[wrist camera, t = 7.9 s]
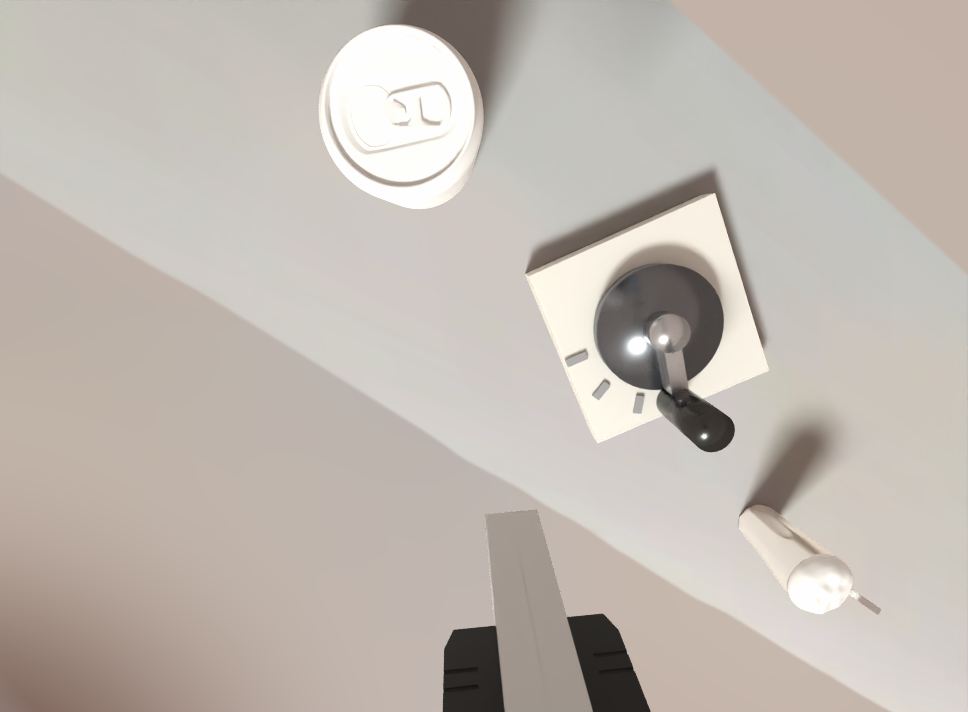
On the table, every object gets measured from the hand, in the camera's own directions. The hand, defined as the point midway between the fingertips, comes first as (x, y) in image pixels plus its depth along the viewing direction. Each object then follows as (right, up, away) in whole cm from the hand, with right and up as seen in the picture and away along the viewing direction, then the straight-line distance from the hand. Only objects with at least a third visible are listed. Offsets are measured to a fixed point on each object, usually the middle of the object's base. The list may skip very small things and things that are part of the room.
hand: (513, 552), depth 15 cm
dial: (+12, +7, +22) cm, 26 cm away
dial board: (+11, +8, +24) cm, 28 cm away
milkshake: (+23, -9, +29) cm, 38 cm away
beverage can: (-5, +20, +21) cm, 29 cm away
